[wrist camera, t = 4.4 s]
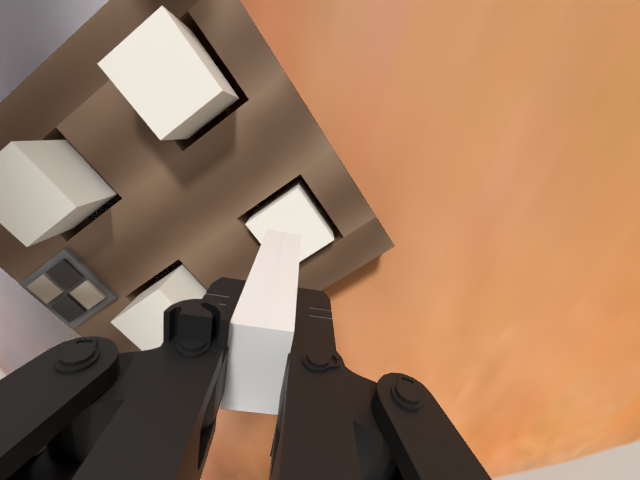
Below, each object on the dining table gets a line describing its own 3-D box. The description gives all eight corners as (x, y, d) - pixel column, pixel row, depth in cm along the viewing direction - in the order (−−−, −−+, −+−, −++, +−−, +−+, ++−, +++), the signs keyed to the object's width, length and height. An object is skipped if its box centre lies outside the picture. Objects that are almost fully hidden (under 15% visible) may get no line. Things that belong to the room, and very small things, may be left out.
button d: (255, 210, 22) (245, 224, 18) (299, 179, 21) (298, 187, 18) (287, 252, 23) (283, 272, 20) (330, 223, 22) (334, 239, 19)
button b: (140, 293, 22) (110, 322, 18) (182, 264, 21) (158, 289, 18) (179, 330, 23) (157, 364, 19) (220, 304, 22) (204, 335, 19)
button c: (139, 77, 17) (97, 63, 14) (192, 31, 16) (162, 5, 13) (187, 138, 18) (160, 140, 15) (239, 98, 17) (222, 90, 14)
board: (-37, 181, 21) (-102, 191, 17) (210, -43, 17) (186, -84, 14) (167, 367, 27) (147, 400, 23) (384, 232, 23) (396, 248, 20)
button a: (22, 177, 19) (-40, 187, 15) (66, 139, 18) (11, 141, 15) (74, 227, 20) (26, 247, 16) (117, 194, 19) (76, 207, 16)
